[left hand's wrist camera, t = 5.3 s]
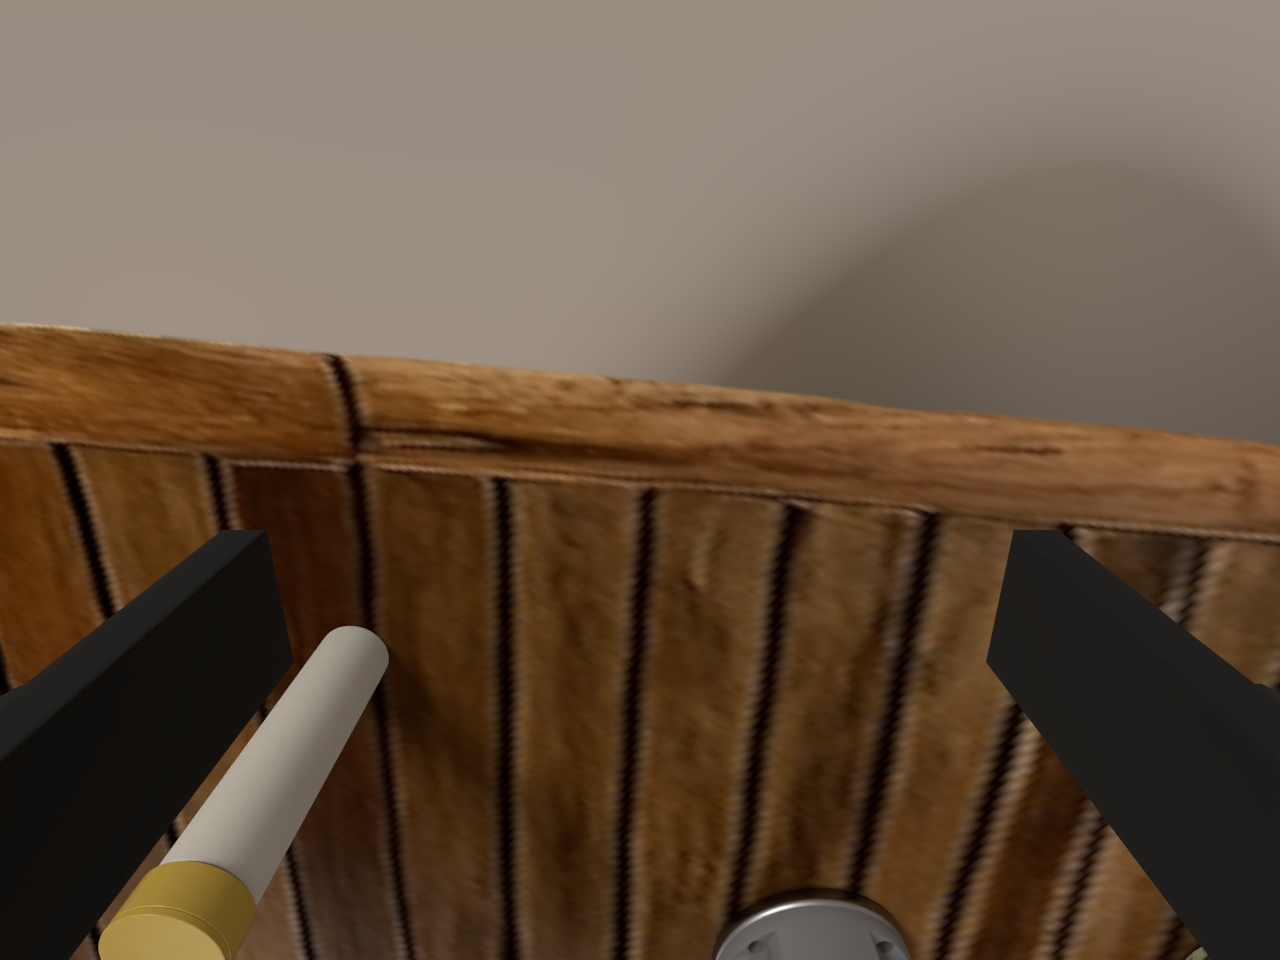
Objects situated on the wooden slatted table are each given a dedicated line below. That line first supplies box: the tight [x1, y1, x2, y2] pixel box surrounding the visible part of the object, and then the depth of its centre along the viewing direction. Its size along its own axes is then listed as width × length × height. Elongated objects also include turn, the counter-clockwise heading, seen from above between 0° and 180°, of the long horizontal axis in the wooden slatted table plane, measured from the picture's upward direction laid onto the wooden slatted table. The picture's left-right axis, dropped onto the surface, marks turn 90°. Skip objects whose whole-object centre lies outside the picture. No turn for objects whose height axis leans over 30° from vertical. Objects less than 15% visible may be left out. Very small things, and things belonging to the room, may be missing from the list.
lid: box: [99, 861, 256, 960], centre depth 29 cm, size 5×5×2 cm
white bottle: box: [159, 626, 389, 906], centre depth 37 cm, size 4×4×20 cm
